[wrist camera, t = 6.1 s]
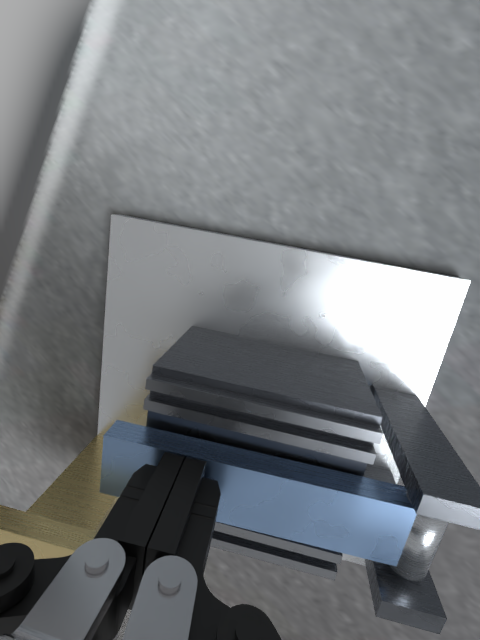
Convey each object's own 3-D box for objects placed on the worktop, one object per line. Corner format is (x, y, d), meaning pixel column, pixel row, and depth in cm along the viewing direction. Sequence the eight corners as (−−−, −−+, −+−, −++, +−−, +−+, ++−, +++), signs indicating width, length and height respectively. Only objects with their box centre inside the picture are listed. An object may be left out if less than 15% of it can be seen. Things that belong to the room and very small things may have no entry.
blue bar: (443, 486, 12) (462, 519, 11) (418, 548, 13) (432, 585, 12) (119, 412, 13) (100, 433, 12) (114, 474, 14) (96, 500, 13)
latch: (179, 418, 19) (96, 557, 11) (168, 498, 20) (88, 670, 13) (99, 398, 19) (-34, 519, 12) (94, 478, 21) (-27, 633, 13)
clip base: (460, 277, 16) (609, 329, 8) (363, 550, 21) (403, 744, 13) (121, 214, 18) (-15, 210, 10) (102, 481, 22) (0, 617, 15)
